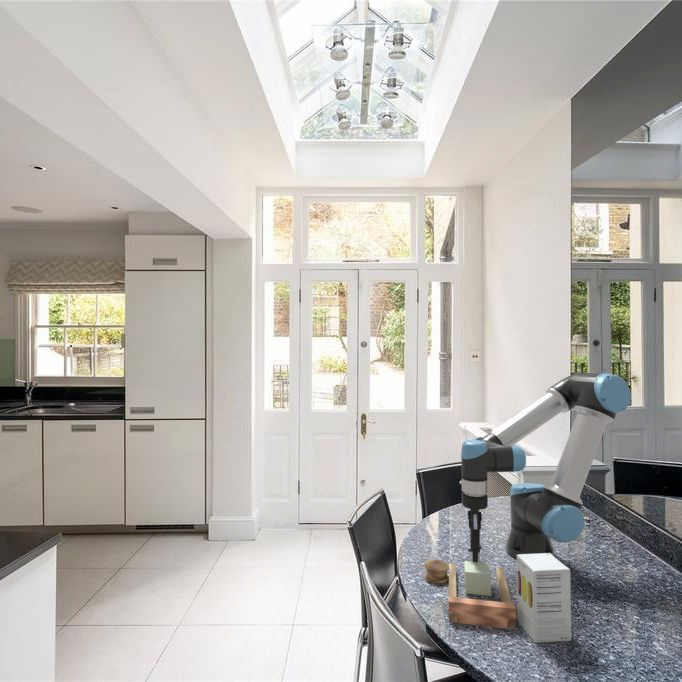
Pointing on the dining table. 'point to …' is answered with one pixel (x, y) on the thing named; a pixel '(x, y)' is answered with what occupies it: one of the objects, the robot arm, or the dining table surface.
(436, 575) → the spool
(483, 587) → the pale green block
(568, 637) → the supplement box
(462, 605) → the track
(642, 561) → the dining table surface
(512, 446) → the robot arm
